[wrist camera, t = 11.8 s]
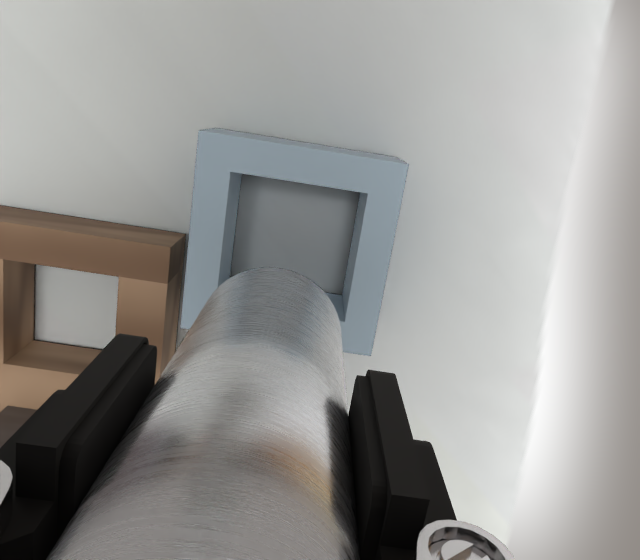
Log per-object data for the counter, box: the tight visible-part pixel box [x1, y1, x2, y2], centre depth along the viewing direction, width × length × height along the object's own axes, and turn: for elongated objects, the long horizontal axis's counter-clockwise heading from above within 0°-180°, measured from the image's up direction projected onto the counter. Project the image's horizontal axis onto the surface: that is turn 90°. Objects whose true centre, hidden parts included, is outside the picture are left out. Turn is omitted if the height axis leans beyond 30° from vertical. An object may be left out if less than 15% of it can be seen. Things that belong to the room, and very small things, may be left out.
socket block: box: [0, 205, 186, 448], centre depth 27 cm, size 16×10×9 cm, turn 171°
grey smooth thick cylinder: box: [46, 267, 360, 560], centre depth 10 cm, size 4×4×12 cm
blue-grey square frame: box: [180, 128, 409, 356], centre depth 27 cm, size 9×9×4 cm
